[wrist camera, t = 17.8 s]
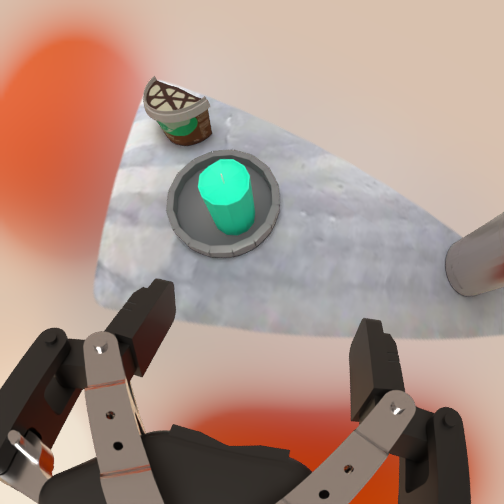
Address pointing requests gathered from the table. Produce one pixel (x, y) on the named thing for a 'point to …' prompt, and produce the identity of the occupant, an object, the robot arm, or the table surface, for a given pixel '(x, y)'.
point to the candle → (228, 196)
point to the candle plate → (199, 218)
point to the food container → (177, 113)
